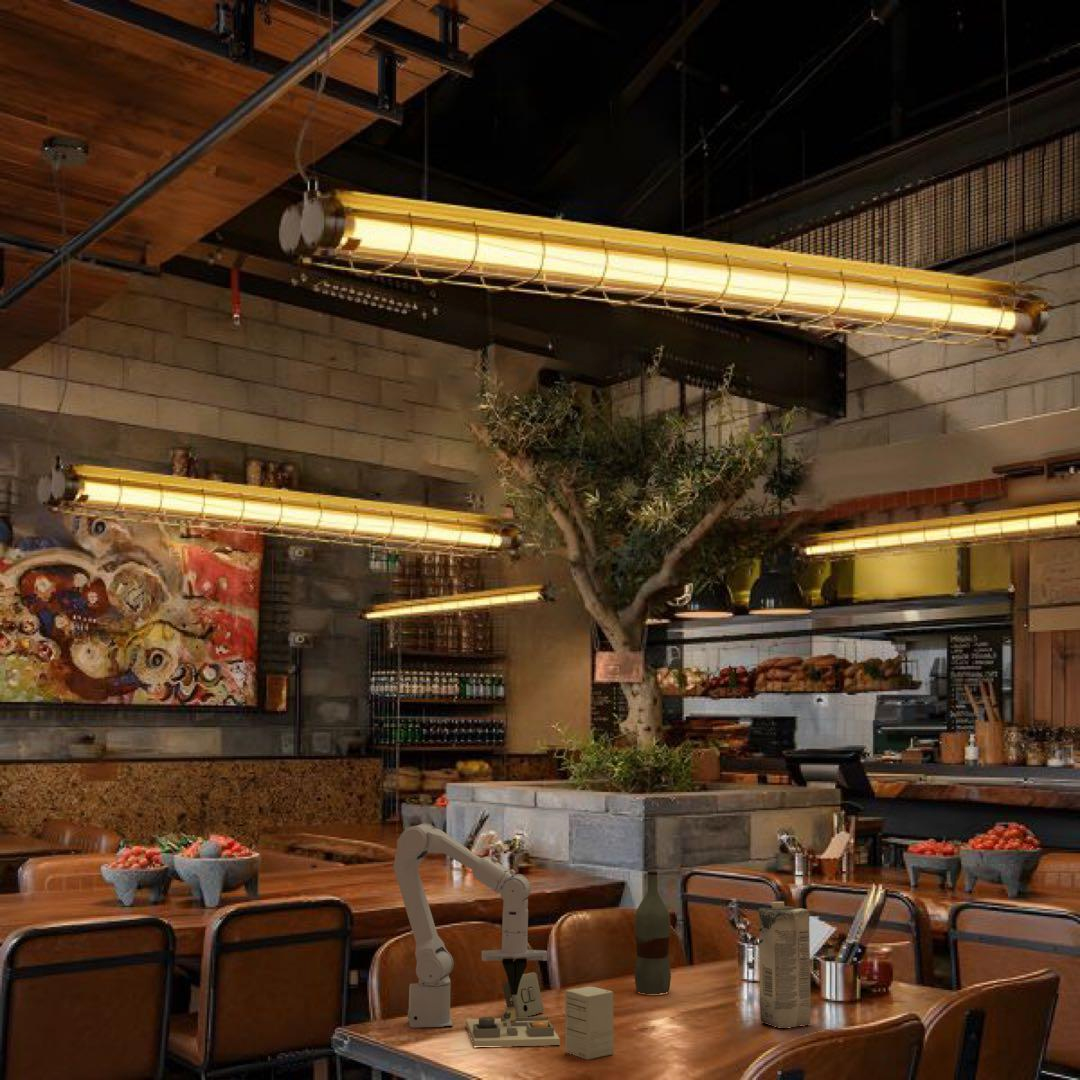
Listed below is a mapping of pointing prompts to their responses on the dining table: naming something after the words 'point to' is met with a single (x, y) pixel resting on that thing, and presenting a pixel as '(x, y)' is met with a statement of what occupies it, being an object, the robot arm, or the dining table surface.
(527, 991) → the electrical switch
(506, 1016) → the toggle lever
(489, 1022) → the black button
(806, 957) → the juice carton
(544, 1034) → the control panel
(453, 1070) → the dining table surface
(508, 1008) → the brass slider
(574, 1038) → the supplement box
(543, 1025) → the orange button
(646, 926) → the bottle
